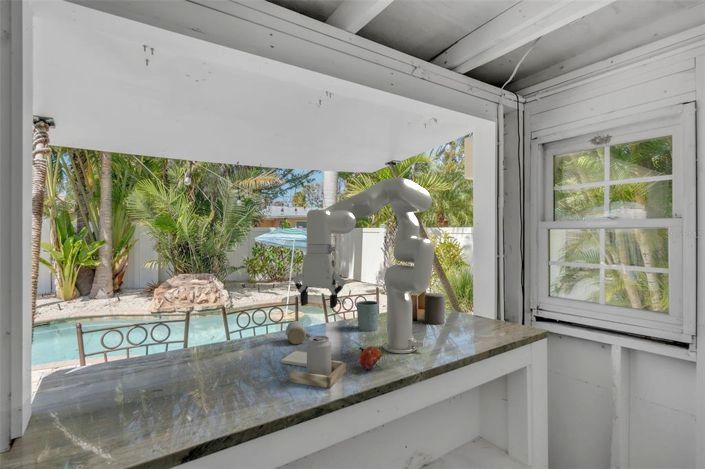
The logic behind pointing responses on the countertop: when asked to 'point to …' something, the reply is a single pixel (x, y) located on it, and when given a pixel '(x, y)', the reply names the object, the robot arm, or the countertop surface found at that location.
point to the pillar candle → (434, 308)
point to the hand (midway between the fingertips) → (318, 306)
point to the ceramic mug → (296, 333)
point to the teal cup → (367, 315)
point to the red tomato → (369, 357)
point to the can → (319, 355)
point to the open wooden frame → (320, 376)
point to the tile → (296, 358)
